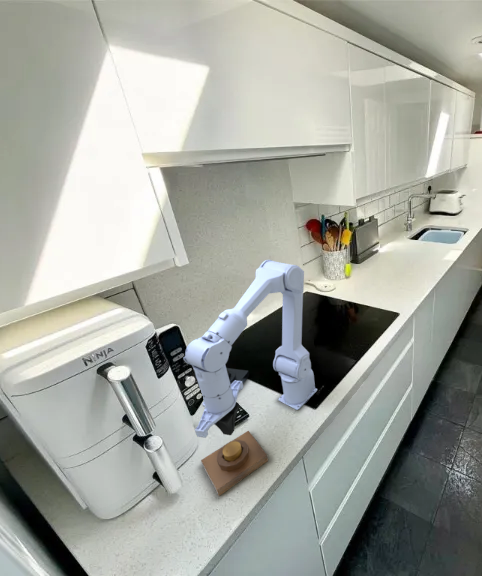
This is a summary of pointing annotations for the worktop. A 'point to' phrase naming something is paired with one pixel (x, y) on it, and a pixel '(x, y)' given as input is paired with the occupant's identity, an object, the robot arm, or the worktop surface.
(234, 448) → the brass button
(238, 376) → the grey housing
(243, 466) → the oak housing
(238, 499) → the worktop surface
